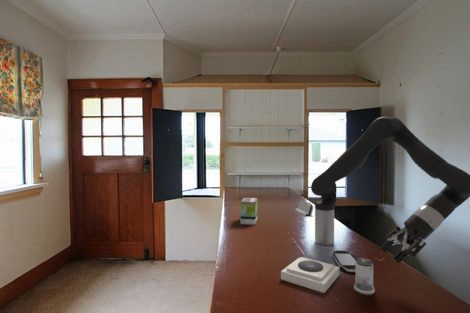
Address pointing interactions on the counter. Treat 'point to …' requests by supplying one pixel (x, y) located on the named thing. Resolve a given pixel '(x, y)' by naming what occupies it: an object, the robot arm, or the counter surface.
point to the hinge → (304, 208)
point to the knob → (364, 277)
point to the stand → (310, 274)
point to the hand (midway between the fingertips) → (388, 255)
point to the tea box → (248, 211)
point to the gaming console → (345, 260)
